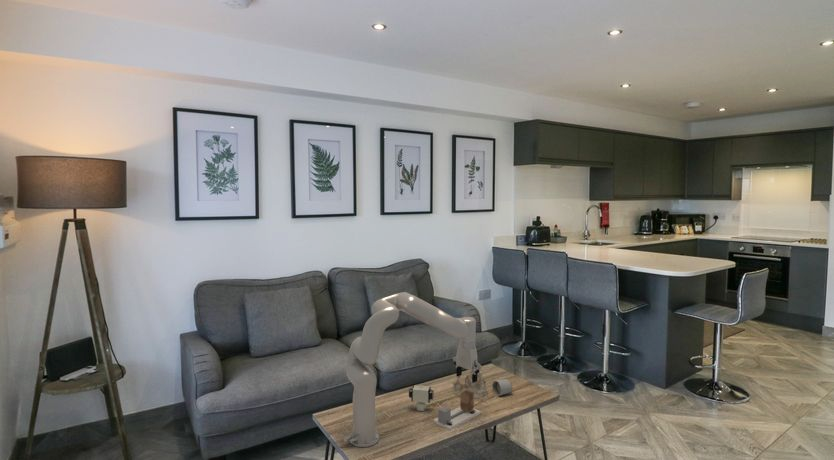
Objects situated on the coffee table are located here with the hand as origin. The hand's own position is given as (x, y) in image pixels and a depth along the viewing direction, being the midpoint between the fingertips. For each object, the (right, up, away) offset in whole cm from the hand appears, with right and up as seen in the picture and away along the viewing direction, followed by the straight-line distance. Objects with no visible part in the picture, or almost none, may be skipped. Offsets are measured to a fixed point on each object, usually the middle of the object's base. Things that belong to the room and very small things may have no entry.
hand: (466, 378), depth 217 cm
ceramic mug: (+20, -15, +23) cm, 35 cm away
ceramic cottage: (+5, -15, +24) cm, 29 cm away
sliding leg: (+1, -15, 0) cm, 15 cm away
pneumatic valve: (-21, -17, +5) cm, 28 cm away
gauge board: (-5, -17, -3) cm, 18 cm away
